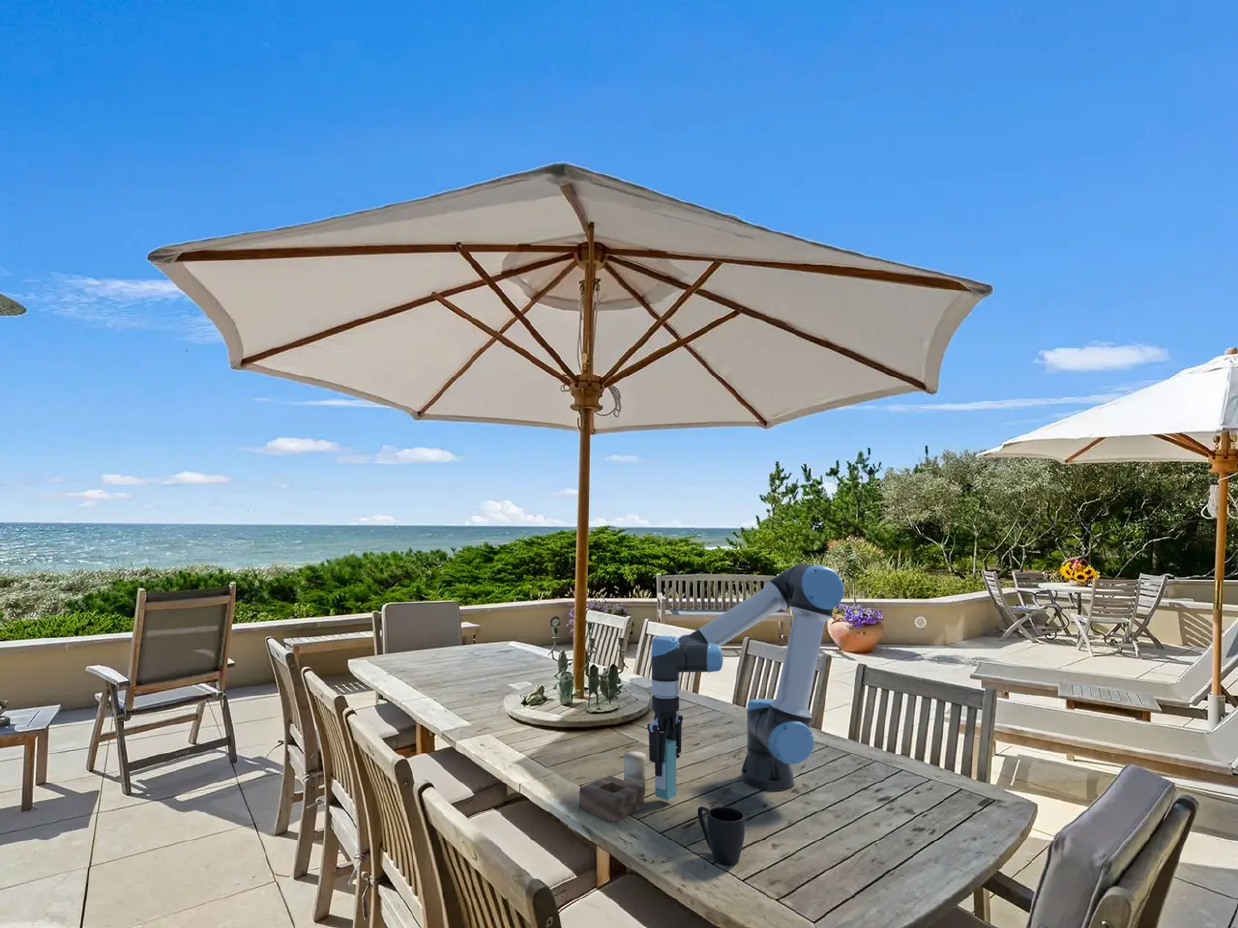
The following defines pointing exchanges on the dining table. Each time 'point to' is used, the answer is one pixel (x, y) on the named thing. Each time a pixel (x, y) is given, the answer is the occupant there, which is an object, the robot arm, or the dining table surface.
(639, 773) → the round dowel
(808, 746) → the robot arm
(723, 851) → the mug
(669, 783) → the square bit
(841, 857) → the dining table surface
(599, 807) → the socket block
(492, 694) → the dining table surface
